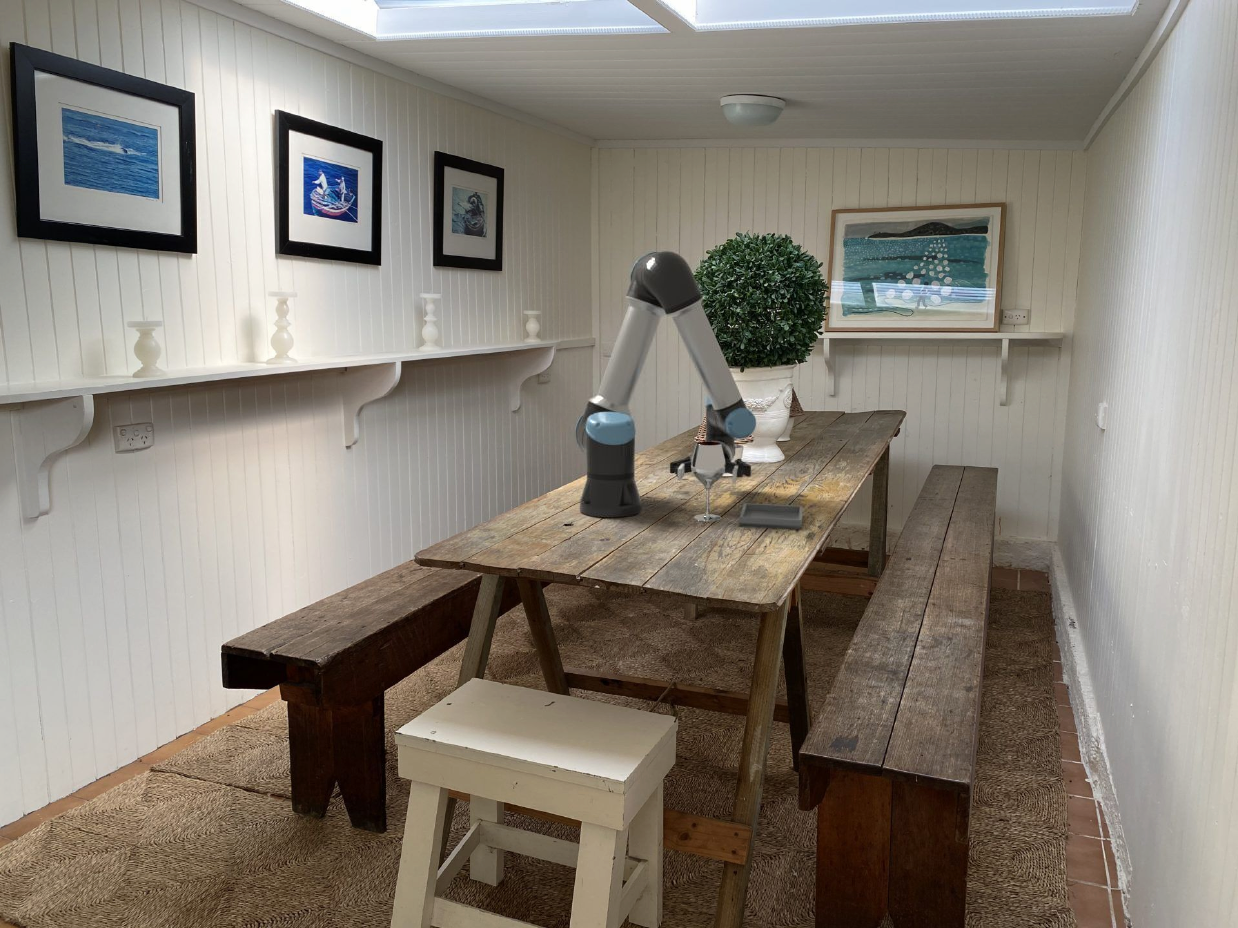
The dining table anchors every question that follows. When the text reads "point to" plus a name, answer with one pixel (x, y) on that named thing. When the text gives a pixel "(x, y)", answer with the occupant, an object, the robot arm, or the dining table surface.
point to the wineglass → (708, 471)
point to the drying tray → (771, 516)
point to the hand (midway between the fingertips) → (706, 475)
